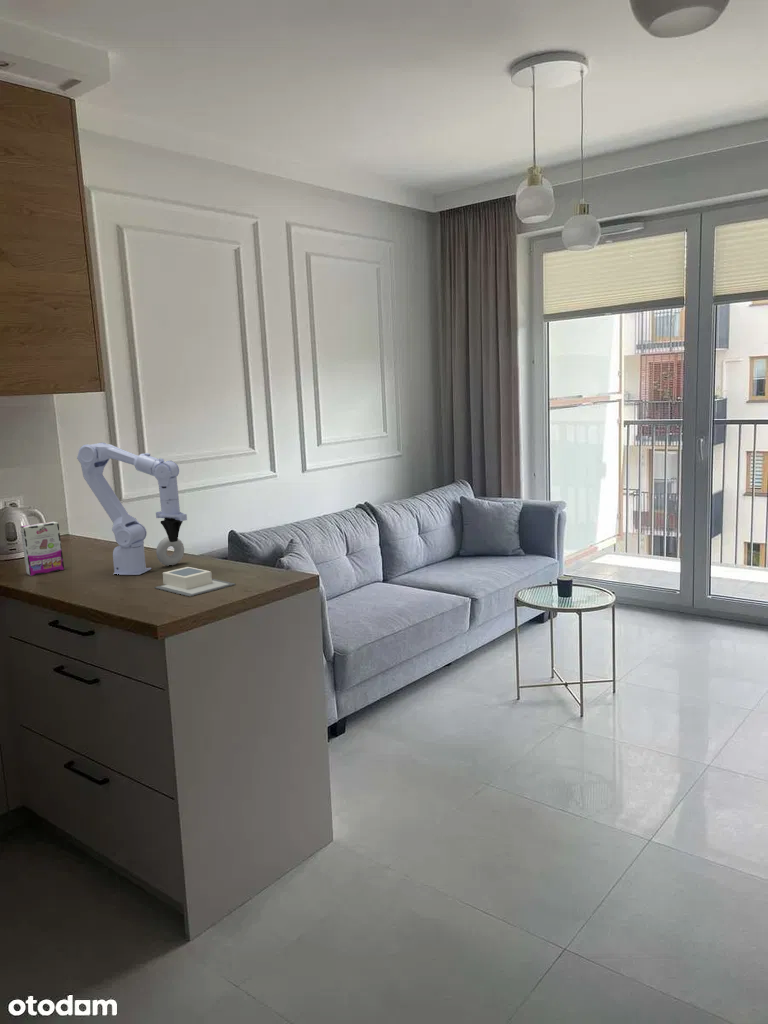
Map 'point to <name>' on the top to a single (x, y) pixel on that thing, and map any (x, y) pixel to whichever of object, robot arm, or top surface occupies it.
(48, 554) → the candy bar box
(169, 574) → the card box
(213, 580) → the mat
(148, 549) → the top surface
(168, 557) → the donut
